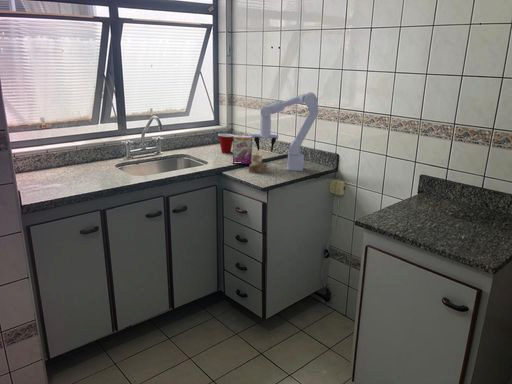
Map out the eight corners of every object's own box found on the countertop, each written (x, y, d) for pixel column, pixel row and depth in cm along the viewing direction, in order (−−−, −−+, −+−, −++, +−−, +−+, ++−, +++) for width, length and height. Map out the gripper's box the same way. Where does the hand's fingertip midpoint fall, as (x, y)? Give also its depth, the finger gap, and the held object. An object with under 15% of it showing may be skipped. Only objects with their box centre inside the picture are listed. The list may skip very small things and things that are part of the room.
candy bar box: (232, 163, 248) (232, 136, 242) (233, 161, 252) (234, 135, 247) (251, 164, 247) (251, 137, 241) (252, 162, 251) (252, 135, 246)
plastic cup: (237, 151, 274) (237, 133, 270) (228, 155, 266) (228, 136, 262) (224, 149, 280) (224, 131, 276) (214, 152, 271) (214, 134, 267)
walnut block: (266, 170, 238) (266, 163, 237) (262, 174, 231) (262, 167, 230) (253, 168, 241) (253, 162, 239) (248, 172, 233) (249, 165, 232)
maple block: (261, 163, 237) (262, 153, 235) (260, 165, 232) (261, 155, 230) (253, 162, 237) (253, 152, 235) (252, 165, 233) (252, 155, 231)
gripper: (252, 128, 232) (251, 151, 237) (277, 129, 230) (277, 152, 235) (253, 125, 239) (253, 148, 243) (278, 126, 237) (278, 149, 242)
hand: (265, 150), depth 240 cm, fingers open, 7 cm apart
